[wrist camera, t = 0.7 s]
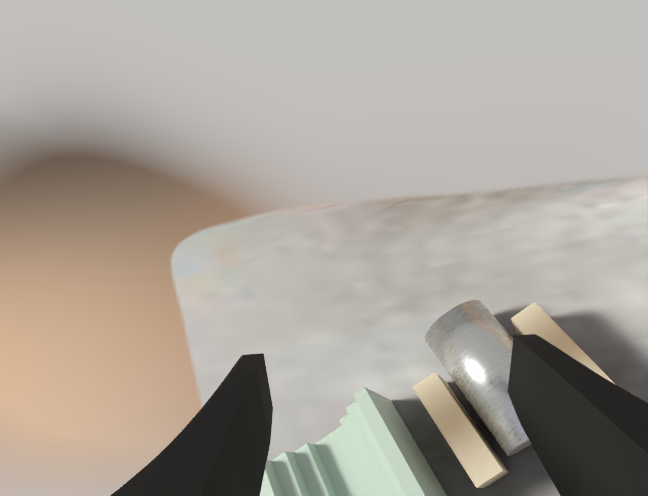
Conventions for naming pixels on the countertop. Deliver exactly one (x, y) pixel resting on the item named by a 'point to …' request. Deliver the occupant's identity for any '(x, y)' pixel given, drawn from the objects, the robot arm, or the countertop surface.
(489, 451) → the beige blocks
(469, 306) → the axle
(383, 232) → the countertop surface
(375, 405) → the v block
